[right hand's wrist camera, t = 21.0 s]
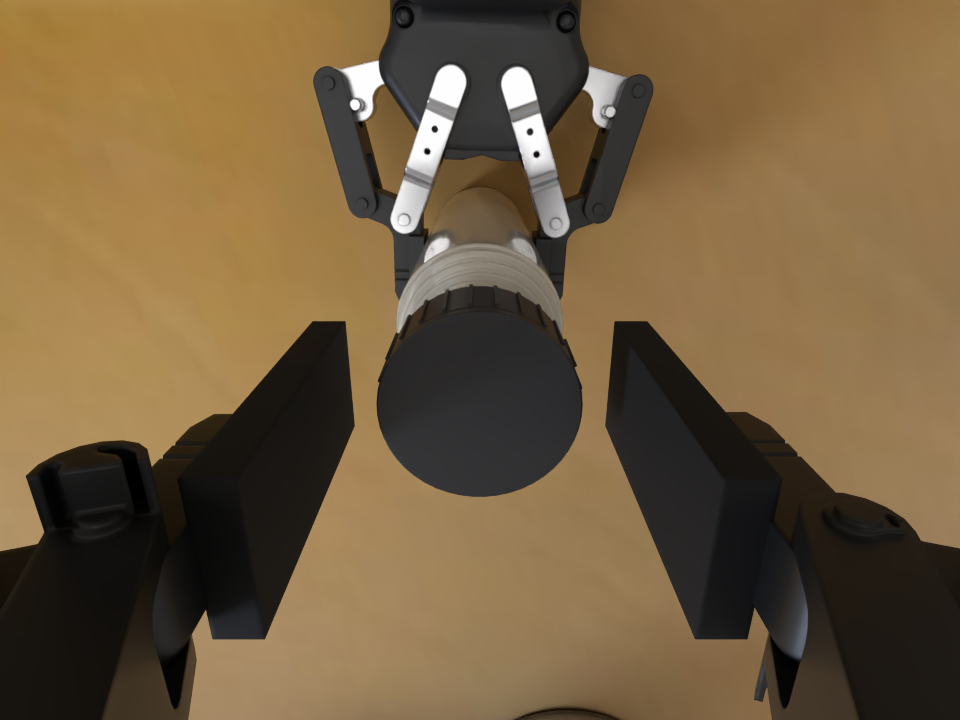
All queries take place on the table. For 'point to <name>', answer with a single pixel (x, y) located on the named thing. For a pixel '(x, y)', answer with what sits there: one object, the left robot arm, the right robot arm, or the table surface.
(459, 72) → the left robot arm
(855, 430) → the table surface
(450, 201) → the bottle
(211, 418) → the right robot arm
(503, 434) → the cap
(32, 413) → the table surface
